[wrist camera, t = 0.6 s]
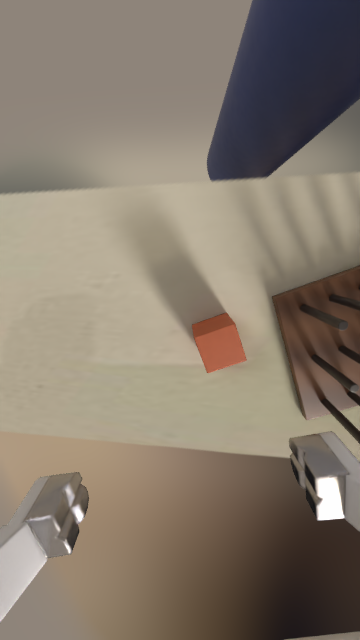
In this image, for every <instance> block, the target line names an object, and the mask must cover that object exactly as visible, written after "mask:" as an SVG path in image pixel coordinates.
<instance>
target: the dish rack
mask: <svg viewBox="0 0 360 640" xmlns="http://www.w3.org/2000/svg"><path fill="white" fill-rule="evenodd" d="M272 299H273V303H274V307H275V311H276V314H277V318H278V322H279V326H280V330H281V334H282V338H283V341H284V345H285V349H286V353H287V357H288V361H289V364H290V368H291V372H292V376H293V380H294V384H295V387H296V391H297V395H298V399H299V403H300V407H301V410H302V414H303V416H304V418H305V419H306V420H310V419H314V418H317V417H321V416H324V415H327V414H332V415H333V416H334V417H335V418H336V419H337V420H338V421H339V422H340V423H341V424H342V426H343V427H344V428H345V429H346V430H347V431H348V432H349V433H350V434H351V435H352V436H353V437H354V438H355V439H356V440H357V441H358V443H359V444H360V431H359V430H358V429H357V428H356V427H355V426H354V425H353V424H352V423H351V422H350V421H349V420H348V419H347V418H346V417H345V416H344V415H343V414H342V413H341V412H340V411H341V410H344V409H348V408H351V407H355V406H358V405H359V406H360V266H357V267H355V268H352V269H349V270H346V271H343V272H340V273H338V274H335V275H332V276H329V277H326V278H323V279H321V280H318V281H315V282H312V283H309V284H306V285H304V286H301V287H298V288H295V289H292V290H289V291H287V292H284V293H281V294H278V295H275V296H272Z"/></svg>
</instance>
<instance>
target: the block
mask: <svg viewBox="0 0 360 640" xmlns="http://www.w3.org/2000/svg"><path fill="white" fill-rule="evenodd" d="M192 329H193V334H194V339H195V342H196V344H197V347H198V350H199V352H200V355H201V358H202V360H203V363H204V366H205V368H206V371H207V373H210V372H213V371H216V370H219V369H222V368H225V367H228V366H231V365H234V364H237V363H240V362H243V361H246V356H245V353H244V350H243V347H242V344H241V341H240V338H239V334H238V331H237V328H236V325H235V323H234V322H233V321H232V319H231V318H230V317H229V315H228V314H227V313H224V314H221V315H219V316H216V317H213V318H210V319H207V320H204V321H202V322H199V323H196V324H193V325H192Z"/></svg>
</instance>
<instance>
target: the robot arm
mask: <svg viewBox="0 0 360 640" xmlns="http://www.w3.org/2000/svg"><path fill="white" fill-rule="evenodd" d="M289 447H290V448H291V450H292V452H293V453H292V454H291V455H290V459H291V465H292V469H293V472H294V475H295V477H296V479H297V481H298V483H299V485H300V486H301V487H302V488H304V489H305V490H306V499H307V501H308V503H309V505H310V507H311V509H312V511H313V513H314V514H315V516H316V518H317V520H326V519H337V518H345V519H346V520H347V521H348V522H349V523H350V524H351V525H352V526H354V527H355V528H356V529H357V530H358V531H359V532H360V462H359V461H358V460H357V458H356V457H355V456H354V455H353V454H352V453H351V451H350V450H349V449H348V448H347V447H346V446H345V444H344V443H343V442H342V441H341V440H340V439H339V438H338V436H337V435H336V434H335V433H334V432H332V431H330V432H324V433H318V434H311V435H306V436H300V437H294V438H290V439H289ZM81 481H82V477H81V475H80V473H79V472H78V473H77V472H75V473H66V474H59V475H52V476H45V477H40V478H39V479H37V480H36V481H35V483H34V484H33V486H32V487H31V489H30V490H29V492H28V493H27V495H26V497H25V498H24V500H23V501H22V503H21V505H20V506H19V508H18V509H17V511H16V513H15V514H14V516H13V517H12V519H11V520H10V522H9V523H8V525H4V526H2V527H1V528H0V622H1V621H2V619H3V618H4V617H5V615H6V614H7V613H8V611H9V610H10V609H11V607H12V606H13V605H14V603H15V602H16V601H17V599H18V598H19V597H20V596H21V594H22V593H23V592H24V590H25V589H26V588H27V586H28V585H29V584H30V582H31V581H32V580H33V578H34V577H35V576H36V574H37V573H38V572H39V570H40V569H41V568H42V566H43V565H44V563H46V561H47V558H51V557H57V556H63V555H69V554H71V553H72V550H73V548H74V545H75V542H76V539H77V536H78V534H79V527H78V524H79V523H80V522H81V520H82V519H83V518H84V517H85V514H86V511H87V508H88V500H89V497H88V491H87V489H86V487H85V486H83V485H82V484H80V483H81ZM286 640H360V632H351V633H341V634H332V635H323V636H314V637H305V638H296V639H286Z"/></svg>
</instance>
